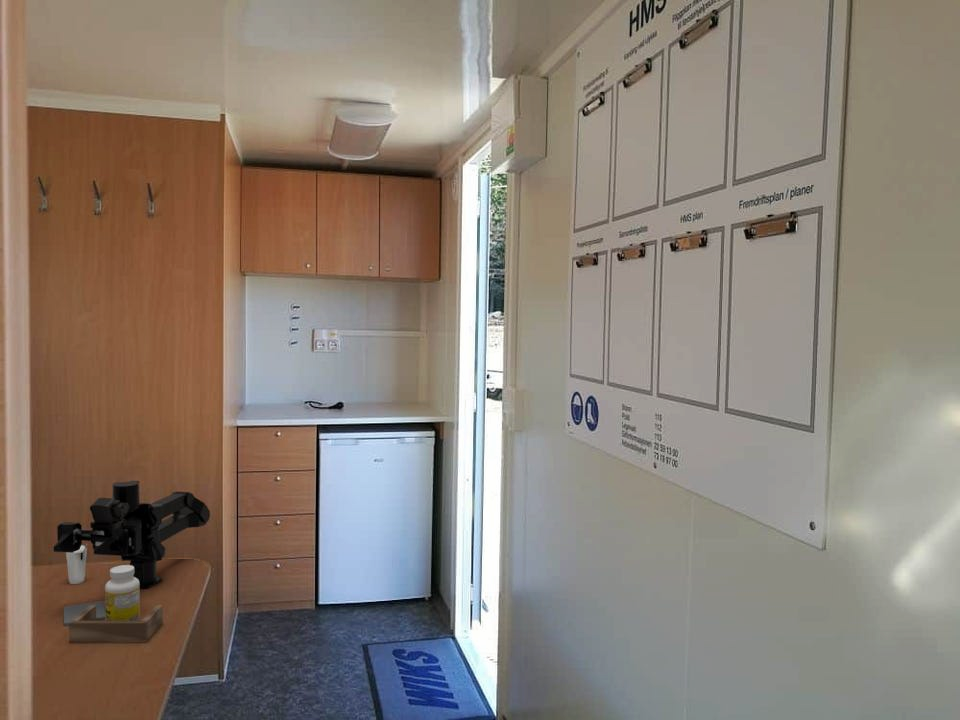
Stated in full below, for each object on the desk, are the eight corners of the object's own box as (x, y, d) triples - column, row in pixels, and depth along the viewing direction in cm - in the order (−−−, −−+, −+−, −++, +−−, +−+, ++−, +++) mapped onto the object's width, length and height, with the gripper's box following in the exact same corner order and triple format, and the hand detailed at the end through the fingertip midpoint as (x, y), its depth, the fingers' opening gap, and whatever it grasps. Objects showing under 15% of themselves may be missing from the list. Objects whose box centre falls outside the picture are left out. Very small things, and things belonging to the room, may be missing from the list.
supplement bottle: (106, 623, 158) (105, 565, 158) (140, 618, 161) (139, 561, 160) (104, 636, 152) (103, 575, 151) (139, 631, 155) (138, 571, 154)
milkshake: (80, 586, 179) (80, 546, 178) (61, 584, 180) (61, 544, 179) (94, 579, 183) (93, 540, 182) (75, 577, 184) (75, 538, 184)
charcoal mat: (63, 609, 165) (63, 606, 165) (112, 601, 170) (112, 599, 170) (64, 625, 157) (63, 623, 157) (116, 617, 162) (116, 614, 162)
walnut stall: (90, 623, 158) (90, 605, 158) (162, 623, 159) (162, 605, 159) (69, 642, 149) (69, 623, 149) (145, 642, 150) (145, 623, 150)
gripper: (81, 493, 171) (33, 510, 156) (156, 497, 169) (114, 515, 154) (81, 539, 172) (34, 562, 157) (156, 544, 170) (115, 567, 154)
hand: (74, 550), depth 155 cm, fingers open, 9 cm apart
